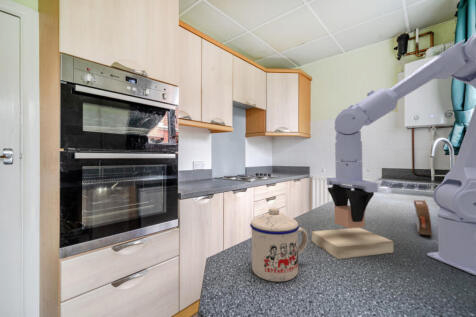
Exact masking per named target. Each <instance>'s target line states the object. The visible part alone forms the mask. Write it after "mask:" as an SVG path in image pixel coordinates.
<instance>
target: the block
mask: <svg viewBox="0 0 476 317" xmlns="http://www.w3.org/2000/svg"><path fill="white" fill-rule="evenodd" d="M365 213H366V212H365ZM365 213H364V216H363V220H362V222H353V221H352V217H351V207H350V204H348V206H335V205H334V223H335V224H337V225H338V226H341V227H344V228H345V229H347V228H365V223H366V222H365V221H366V220H365V219H366V216H365Z"/></svg>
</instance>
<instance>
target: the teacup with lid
mask: <svg viewBox="0 0 476 317" xmlns="http://www.w3.org/2000/svg"><path fill="white" fill-rule="evenodd" d="M249 227H250V228H251V269H252V272H253V273H254V274H255V275H256V276H257V277H259V278H261V279H264V280H265V281H269V282H287V281H290V280H292V279H294V278H295V277H297V275H298V273H299V254H301V253H302V252H303V251H304V250H305V249H306V247H307V245H308V240H309V235H308V233H307V232H308V231H306V230H305V229H304V228H302V227H300V226H299V223H298V221H297V220H295V218H292V217H289V216H287V215H285V214H284V213H281V212H280V209H279V208H278V207H269V209H268V212H265V213H263V214H262V215H259V216H257V217H254V218H253V219H252V220H251V222H250V225H249ZM299 232H301V235H302V237H301V238H302V239H301V242H300V244H299Z"/></svg>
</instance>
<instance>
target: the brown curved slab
mask: <svg viewBox="0 0 476 317" xmlns="http://www.w3.org/2000/svg"><path fill="white" fill-rule="evenodd" d="M413 205H414V208H415V209H414V210H415V224H416V230H417V232H418V234H419V235H421V236H428V237H432V236H433V235H432V234H433V233H432V222H431V215H430V210H429V209H430V208H429V205H428V204H427V202H426V200H425V199H424V200H419V199H417V200H415V199H414V201H413Z"/></svg>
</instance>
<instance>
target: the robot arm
mask: <svg viewBox="0 0 476 317" xmlns="http://www.w3.org/2000/svg"><path fill="white" fill-rule="evenodd" d="M464 42H465V43H464ZM450 77H451V78H452V79H454V80H456V81H460V82H461V83H464V84H467V85H469V86H471V87H472V88H474V89H475V90H476V32H475V33H473V34H472V35H471V36H470V37H469V38H468V39H467V41H466V39H465V38H464V39H462V40H461V41H459V42H456V43H455V44H453V45H452V46H450V47H449V48H447V49H446V50H444V51H442V52H440V53H439V54H438V55H437V54H436V56H435V57H433V58H431V59H430V60H429V61H427V62H426V63H425V64H423V65H422V66H420V67H419V68H417V69H416V70H414V71H413V72H412V73H410V74H408V75H407V76H406V77H404V78H403V79H401V80H399V81H398V82H397V83H396V84H394V85H393V86H391V87H390V88H383V87H382V88H378V89H377V90H373V89H371V90H370V91H368V92H367V93H366V97H364V98H362V99H361V100H360V101H359V102H357V103H355V104H354V105H353V104H350V105H349V106H348V107H347V108H344V109H342V110H341V111H340V112H339V113H338V114H337V116H336V118H335V119H334V120H335V121H334V131H335V132H336V133H335V141H336V142H335V143H334V146H335V147H334V150H335V152H334V156H335V177H326V185H327V186H331V187H327V191H328V193H329V195H330V196H331V199H332V201H333V204H334V207H335V206H349V205H350V207H351V217H352V221H353V222H362V220H363V216H364V213H366V210H367V207H368V205H369V203H370V201H371V200H372V198H373V197H374V195H375V193H378V192H379V191H378V190H379V187H378V186H379V185H378V182H374V181H370V180H364V178H363V142H362V137H361V136H362V135H361V134H362V133H361V132H362V131H361V130H362V128H363V127H364V126H366V127H367V126H370V125H371V124H372V123H375V122H376V121H378V120H380V119H381V118H383V117H384V116H386V115H387V114H390V113H391V112H393V111H394V110H396V108H397V107H398V106H397V105H398V101H399V100H400V99H403V98H404V97H405V96H407V95H409V94H410V93H412V92H415V91H417V89H420V88H421V87H423V86H424V85H426V84H428V83H430V82H431V81H433V80H447V79H449V78H450ZM432 198H433V201H434V203H435V204H436V205H437V206H438V207H439V210H438V211H437V236H438V237H437V239H438V240H437V242H438V243H437V244H438V245H437V246H438V251H435V252H434V251H433V252H427V253H426V255H427V257H430V258H432V259H434V260H437V261H439V262H442V263H444V264H447V265H449V266H452V267H454V268H457V269H459V270H462V271H464V272H466V273H469V274H472V275H474V276H476V104H475V106H474V108H473V112H472V114H471V117H470V120H469V122H468V126H467V127H466V132H465V135H464V137H463V139H462V143H461V145H460V148H459V150H458V154H457V157H456V159H455V163H454V165H453V167H452V168H451V169H450V170H449V171H448V172H447V173H446V174H445V175H444V179H443V180H442V182H441V183H440V184H438V185H437V186H436V187H435V189H434V190H433V192H432ZM348 203H349V204H348Z"/></svg>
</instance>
